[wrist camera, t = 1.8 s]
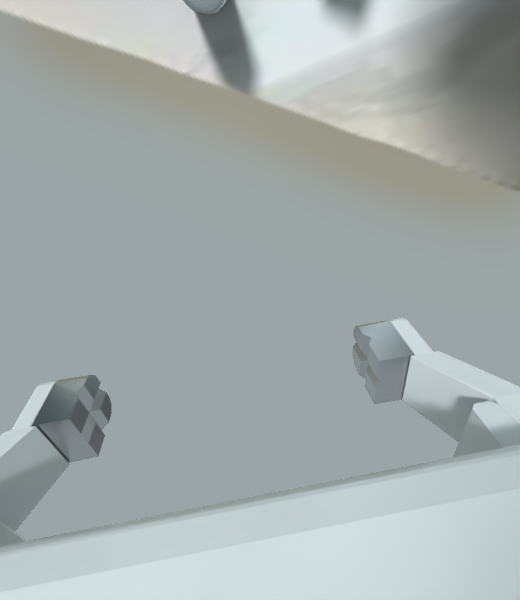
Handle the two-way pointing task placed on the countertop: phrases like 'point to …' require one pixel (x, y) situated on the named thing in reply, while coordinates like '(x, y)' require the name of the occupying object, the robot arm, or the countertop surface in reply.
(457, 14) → the countertop surface
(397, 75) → the countertop surface
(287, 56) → the countertop surface
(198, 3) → the cylinder
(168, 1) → the countertop surface
